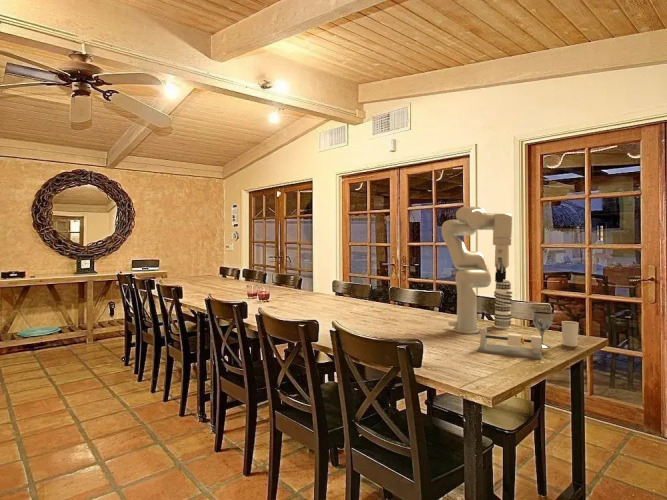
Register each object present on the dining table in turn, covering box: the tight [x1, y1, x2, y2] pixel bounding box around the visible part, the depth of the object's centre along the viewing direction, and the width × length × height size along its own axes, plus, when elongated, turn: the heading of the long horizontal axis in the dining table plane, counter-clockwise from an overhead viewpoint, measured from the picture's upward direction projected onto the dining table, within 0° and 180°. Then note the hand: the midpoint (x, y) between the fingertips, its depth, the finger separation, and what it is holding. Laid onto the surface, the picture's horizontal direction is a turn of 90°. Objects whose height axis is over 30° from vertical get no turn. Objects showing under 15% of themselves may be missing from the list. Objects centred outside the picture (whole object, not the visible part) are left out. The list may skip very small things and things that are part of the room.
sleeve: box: [507, 332, 523, 347], centre depth 181 cm, size 5×4×4 cm
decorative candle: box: [493, 279, 513, 330], centre depth 231 cm, size 9×9×25 cm
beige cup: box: [561, 320, 579, 347], centre depth 194 cm, size 7×7×10 cm
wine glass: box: [531, 310, 553, 349], centre depth 191 cm, size 8×8×15 cm
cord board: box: [477, 326, 543, 360], centre depth 182 cm, size 24×12×9 cm, turn 63°
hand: (500, 280), depth 192 cm, fingers open, 9 cm apart
